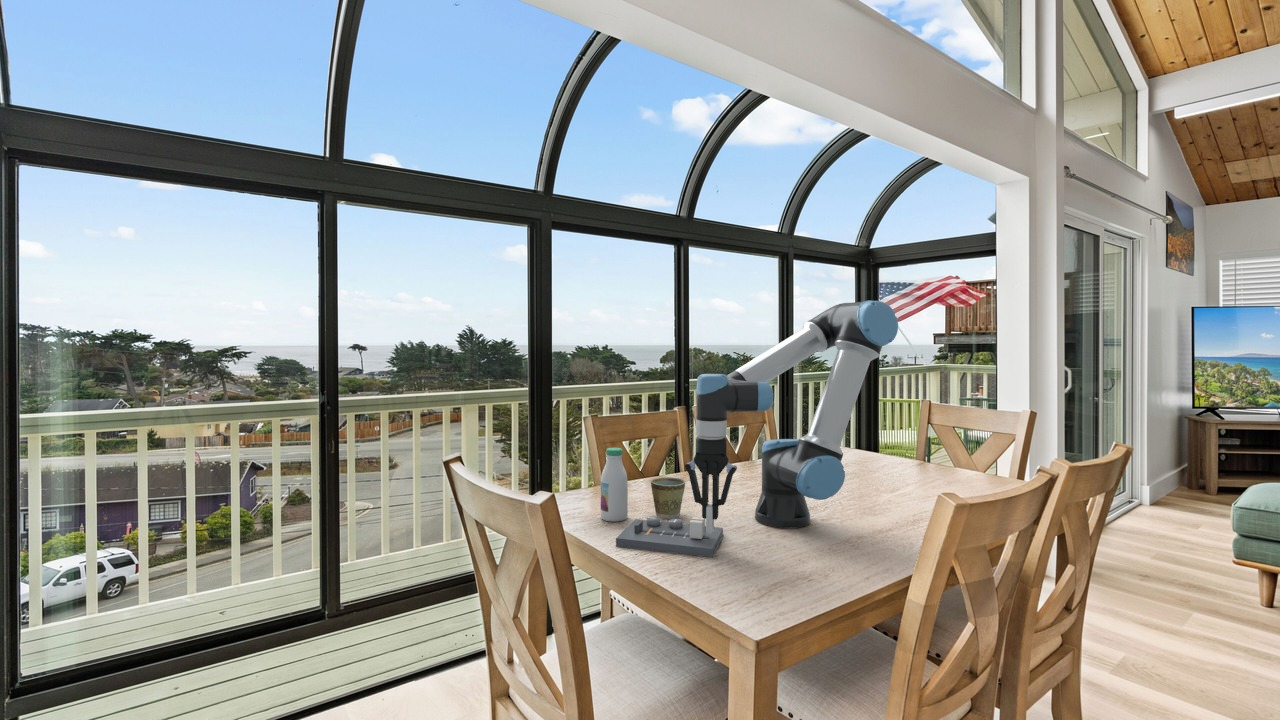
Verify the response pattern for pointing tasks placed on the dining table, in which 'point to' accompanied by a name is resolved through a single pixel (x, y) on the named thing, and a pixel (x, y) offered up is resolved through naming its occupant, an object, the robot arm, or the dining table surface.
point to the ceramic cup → (667, 496)
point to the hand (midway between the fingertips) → (709, 531)
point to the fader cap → (697, 528)
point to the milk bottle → (614, 487)
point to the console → (668, 537)
